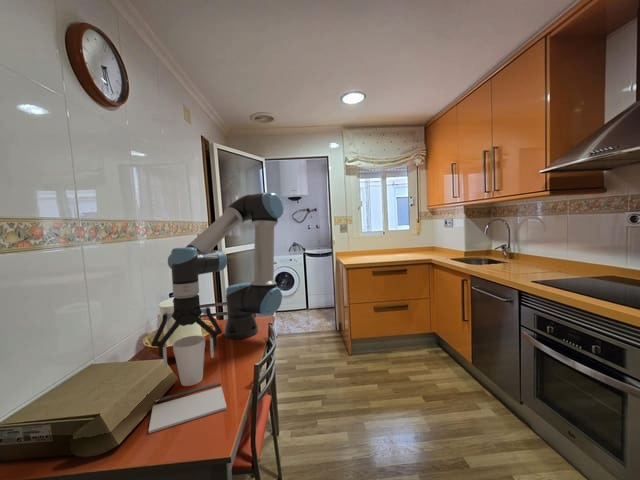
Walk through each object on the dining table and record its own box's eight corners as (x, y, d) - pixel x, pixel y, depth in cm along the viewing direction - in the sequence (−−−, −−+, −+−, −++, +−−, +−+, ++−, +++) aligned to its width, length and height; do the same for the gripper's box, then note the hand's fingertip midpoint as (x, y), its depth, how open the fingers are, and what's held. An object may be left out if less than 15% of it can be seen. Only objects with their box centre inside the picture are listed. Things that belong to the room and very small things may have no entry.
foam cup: (185, 373, 95) (183, 335, 94) (212, 372, 94) (209, 335, 94) (169, 389, 85) (166, 348, 85) (199, 388, 85) (196, 347, 84)
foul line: (220, 382, 88) (220, 381, 88) (220, 384, 87) (220, 383, 87) (154, 400, 80) (154, 399, 80) (154, 403, 79) (153, 402, 79)
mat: (221, 388, 84) (221, 386, 84) (226, 409, 75) (226, 406, 75) (153, 407, 77) (153, 405, 76) (148, 433, 67) (148, 431, 67)
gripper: (138, 303, 80) (142, 376, 80) (228, 292, 91) (231, 356, 91) (142, 298, 87) (145, 365, 87) (225, 288, 98) (228, 348, 98)
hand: (189, 361), depth 89 cm, fingers open, 13 cm apart
